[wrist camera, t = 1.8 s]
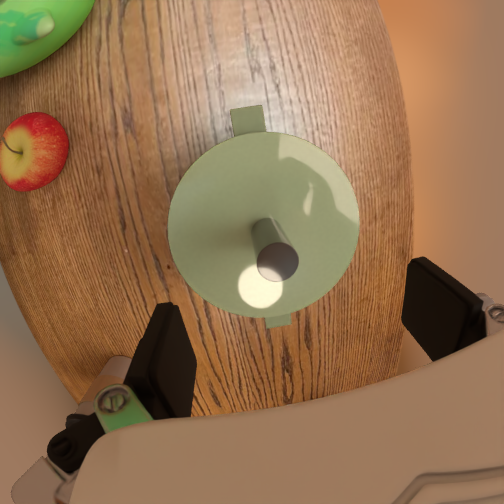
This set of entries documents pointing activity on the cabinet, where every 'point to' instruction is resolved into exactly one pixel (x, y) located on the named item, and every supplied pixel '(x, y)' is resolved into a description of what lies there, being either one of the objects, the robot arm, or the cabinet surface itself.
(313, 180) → the lid
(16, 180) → the apple
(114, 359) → the coffee cup
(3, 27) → the toy bird
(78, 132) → the cabinet surface
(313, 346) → the cabinet surface
